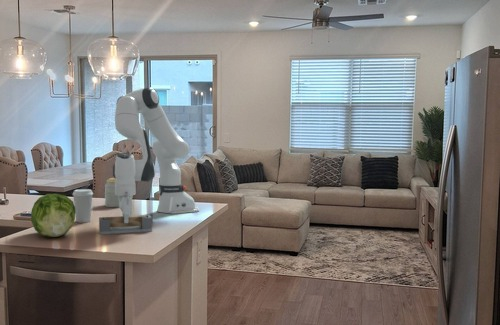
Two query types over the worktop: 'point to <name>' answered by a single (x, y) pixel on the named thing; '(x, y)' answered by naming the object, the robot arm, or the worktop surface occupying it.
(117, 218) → the slat
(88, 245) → the worktop surface
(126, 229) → the grey cradle
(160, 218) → the worktop surface
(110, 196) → the jar
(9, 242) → the worktop surface
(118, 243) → the worktop surface
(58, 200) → the lettuce
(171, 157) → the robot arm
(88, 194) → the coffee cup
